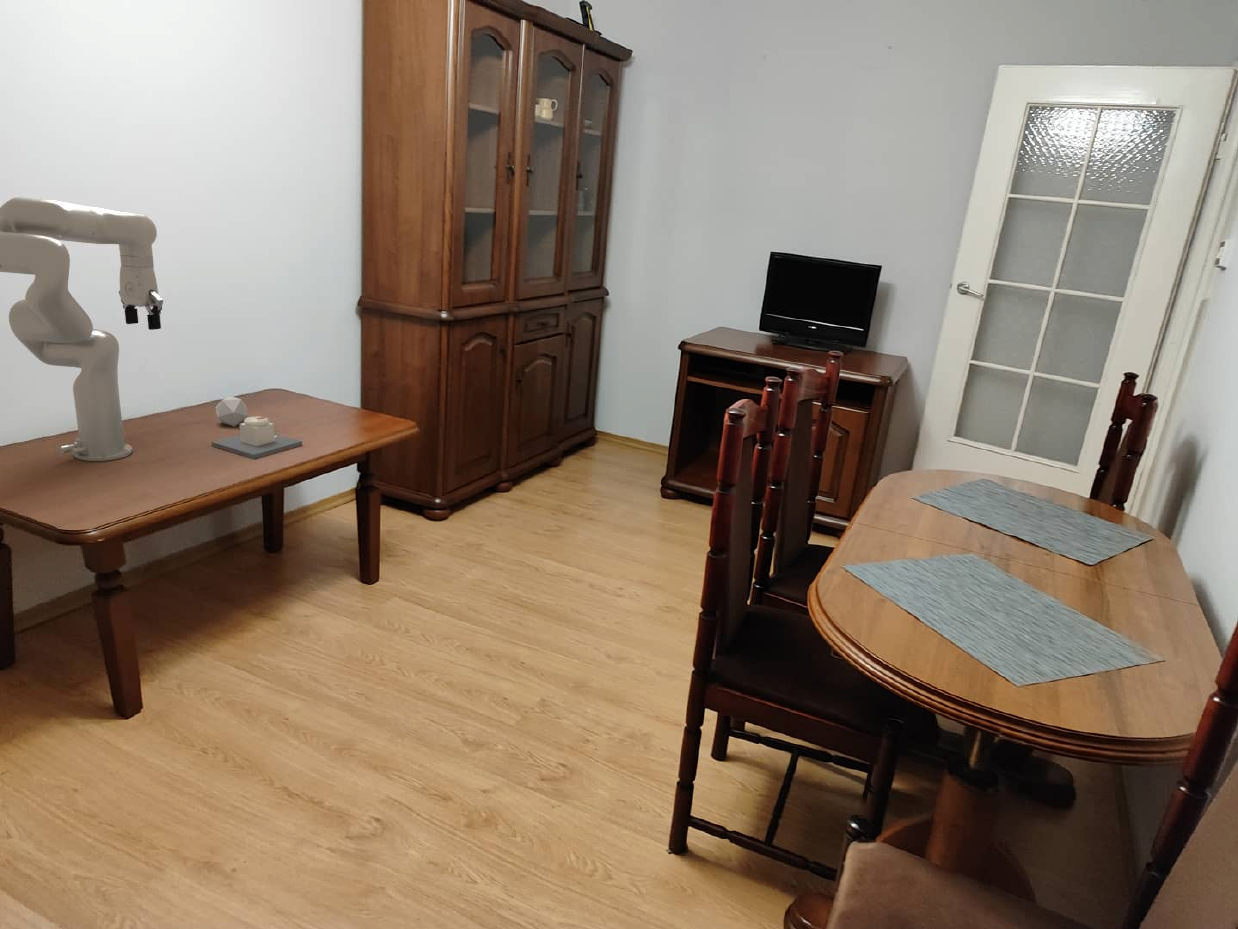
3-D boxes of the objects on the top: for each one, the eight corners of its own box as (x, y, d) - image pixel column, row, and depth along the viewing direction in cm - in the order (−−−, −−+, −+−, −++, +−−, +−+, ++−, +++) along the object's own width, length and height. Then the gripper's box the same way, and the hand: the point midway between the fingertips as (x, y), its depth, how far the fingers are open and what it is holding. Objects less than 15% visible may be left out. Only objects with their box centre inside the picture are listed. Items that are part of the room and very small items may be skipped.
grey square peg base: (253, 459, 213) (252, 439, 211) (211, 446, 219) (210, 427, 217) (302, 445, 226) (301, 427, 225) (261, 433, 233) (260, 415, 231)
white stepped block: (256, 446, 219) (254, 422, 217) (240, 441, 221) (239, 418, 219) (274, 441, 224) (273, 418, 222) (259, 436, 226) (257, 414, 224)
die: (226, 420, 244) (206, 398, 236) (253, 407, 245) (234, 385, 237) (229, 437, 238) (209, 415, 231) (256, 423, 239) (237, 401, 232)
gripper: (103, 258, 217) (110, 322, 222) (144, 266, 210) (150, 332, 215) (130, 257, 223) (137, 320, 229) (171, 265, 216) (176, 329, 221)
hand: (143, 326), depth 222 cm, fingers open, 9 cm apart
